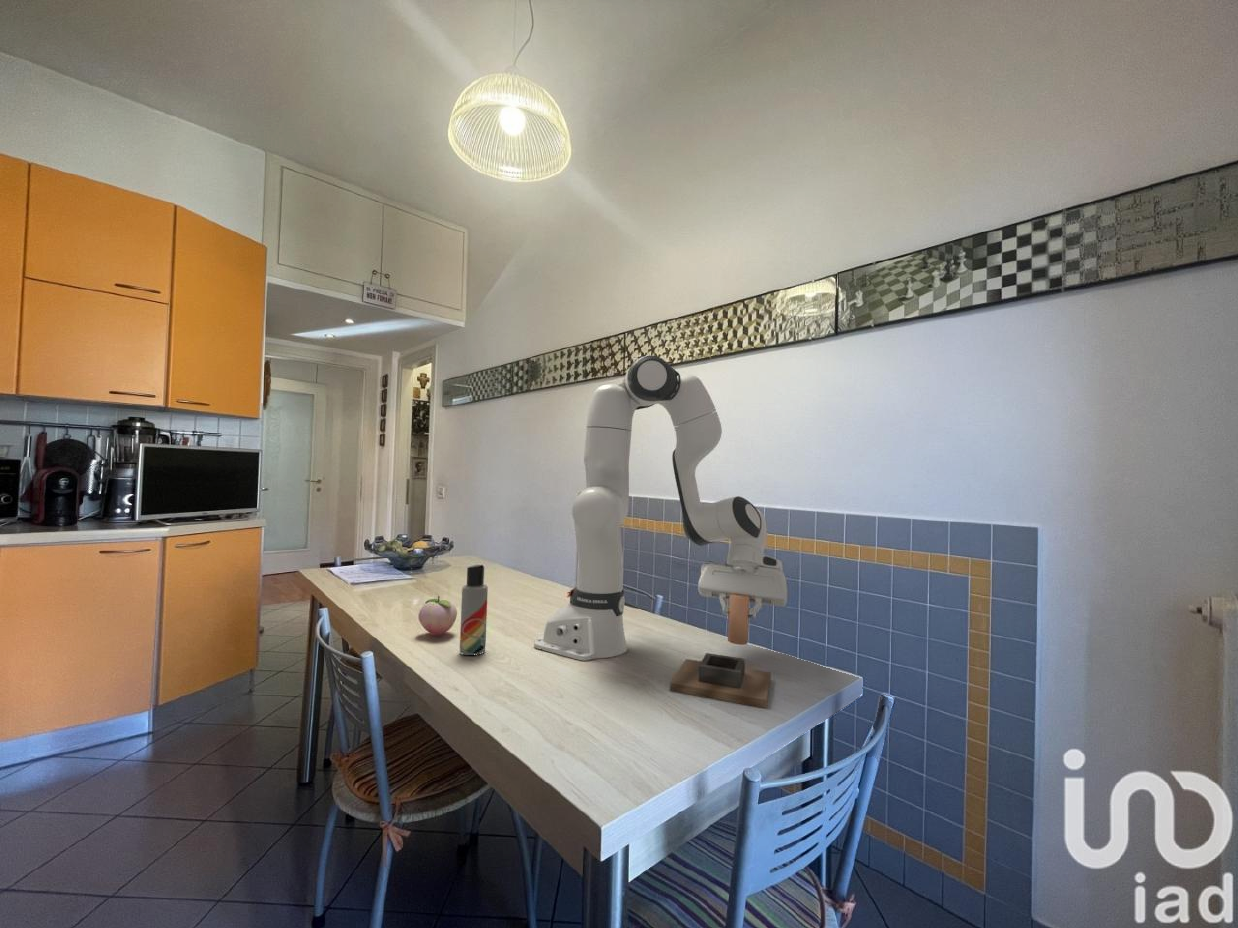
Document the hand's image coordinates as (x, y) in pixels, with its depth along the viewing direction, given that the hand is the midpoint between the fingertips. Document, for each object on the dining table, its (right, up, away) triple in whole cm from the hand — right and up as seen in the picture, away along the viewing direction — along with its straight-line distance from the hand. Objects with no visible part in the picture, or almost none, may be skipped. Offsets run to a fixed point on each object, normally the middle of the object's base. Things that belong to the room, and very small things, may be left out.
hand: (738, 615), depth 110 cm
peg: (0, -6, 0) cm, 6 cm away
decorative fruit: (-73, -9, +14) cm, 75 cm away
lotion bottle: (-61, -9, +3) cm, 61 cm away
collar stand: (-6, -10, -11) cm, 17 cm away
